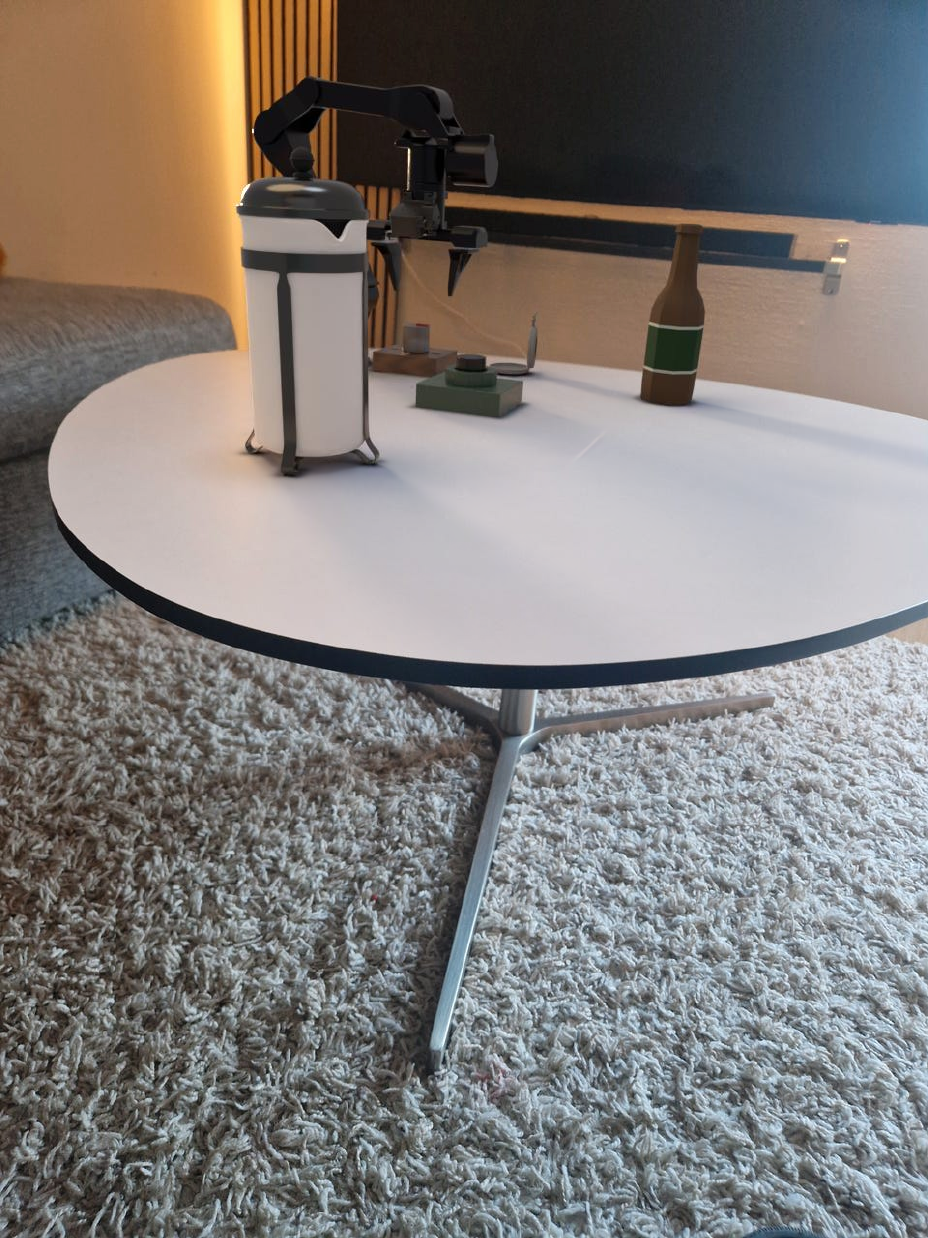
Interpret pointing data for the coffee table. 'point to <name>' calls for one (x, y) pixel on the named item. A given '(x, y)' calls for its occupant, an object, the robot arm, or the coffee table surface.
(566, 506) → the coffee table surface
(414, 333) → the dial
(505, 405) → the button base
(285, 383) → the coffee press
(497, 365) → the pocket watch
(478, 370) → the push button
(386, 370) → the dial panel
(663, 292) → the beer bottle
